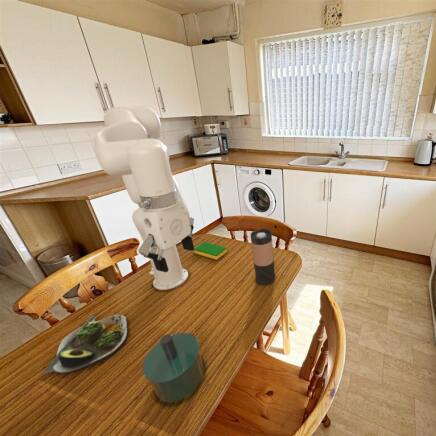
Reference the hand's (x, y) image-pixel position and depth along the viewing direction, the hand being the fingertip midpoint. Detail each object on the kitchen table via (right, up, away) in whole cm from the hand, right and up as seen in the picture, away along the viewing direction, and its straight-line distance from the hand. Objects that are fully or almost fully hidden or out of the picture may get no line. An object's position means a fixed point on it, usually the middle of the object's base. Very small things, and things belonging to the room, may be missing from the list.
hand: (176, 259), depth 63 cm
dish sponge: (-7, -5, +48) cm, 49 cm away
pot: (+3, -29, -4) cm, 30 cm away
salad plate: (-27, -26, +6) cm, 38 cm away
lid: (+3, -21, -7) cm, 23 cm away
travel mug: (+20, -13, +30) cm, 39 cm away
